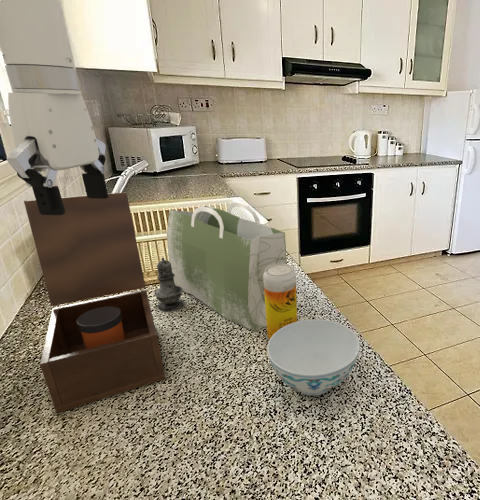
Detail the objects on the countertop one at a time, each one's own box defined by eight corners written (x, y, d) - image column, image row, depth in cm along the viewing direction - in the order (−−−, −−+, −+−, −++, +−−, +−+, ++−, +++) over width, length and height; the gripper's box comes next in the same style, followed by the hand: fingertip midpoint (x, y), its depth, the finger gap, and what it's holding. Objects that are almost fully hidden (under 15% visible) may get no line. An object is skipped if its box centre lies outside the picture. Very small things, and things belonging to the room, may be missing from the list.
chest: (165, 378, 64) (156, 334, 60) (56, 413, 56) (39, 364, 53) (153, 327, 78) (146, 289, 74) (65, 349, 70) (52, 308, 67)
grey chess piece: (150, 308, 85) (141, 259, 80) (171, 296, 90) (163, 250, 86) (170, 313, 83) (161, 264, 78) (190, 301, 88) (183, 254, 84)
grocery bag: (300, 306, 87) (297, 210, 79) (253, 333, 77) (244, 225, 68) (217, 270, 105) (207, 188, 96) (169, 287, 94) (154, 197, 86)
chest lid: (126, 192, 70) (126, 192, 70) (23, 200, 62) (24, 200, 63) (145, 287, 74) (145, 286, 75) (51, 306, 66) (51, 305, 67)
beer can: (284, 348, 72) (280, 278, 67) (261, 338, 75) (256, 270, 70) (303, 333, 77) (302, 267, 71) (281, 324, 80) (278, 260, 74)
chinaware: (261, 365, 67) (259, 329, 65) (338, 347, 73) (339, 312, 70) (281, 427, 55) (279, 385, 52) (373, 399, 60) (375, 360, 57)
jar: (83, 369, 64) (68, 319, 60) (118, 350, 69) (106, 302, 65) (104, 381, 61) (90, 329, 57) (139, 361, 66) (128, 312, 62)
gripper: (65, 85, 58) (91, 192, 65) (-47, 78, 42) (2, 222, 49) (112, 85, 58) (133, 193, 65) (18, 79, 42) (59, 223, 49)
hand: (77, 205), depth 57 cm, fingers open, 9 cm apart
